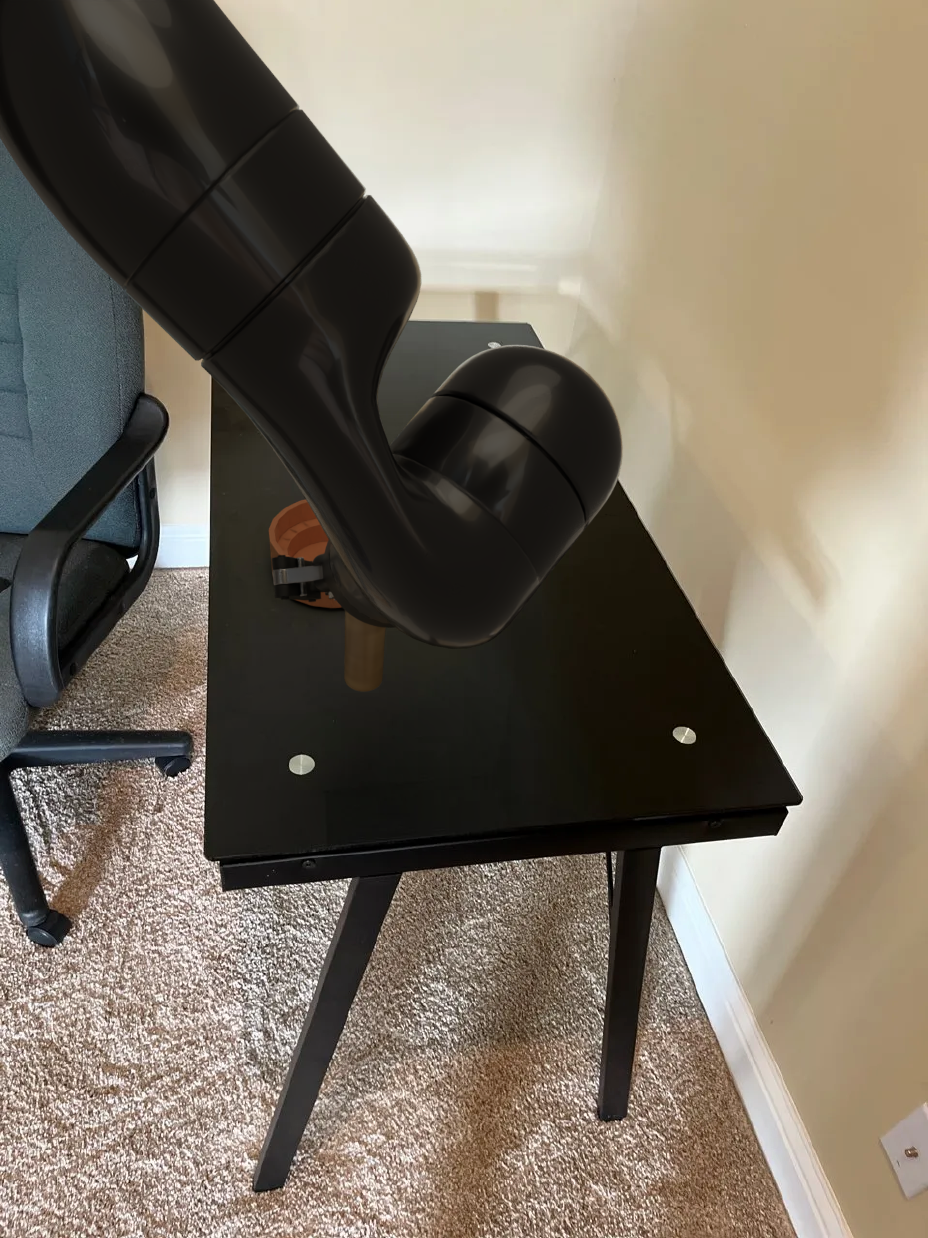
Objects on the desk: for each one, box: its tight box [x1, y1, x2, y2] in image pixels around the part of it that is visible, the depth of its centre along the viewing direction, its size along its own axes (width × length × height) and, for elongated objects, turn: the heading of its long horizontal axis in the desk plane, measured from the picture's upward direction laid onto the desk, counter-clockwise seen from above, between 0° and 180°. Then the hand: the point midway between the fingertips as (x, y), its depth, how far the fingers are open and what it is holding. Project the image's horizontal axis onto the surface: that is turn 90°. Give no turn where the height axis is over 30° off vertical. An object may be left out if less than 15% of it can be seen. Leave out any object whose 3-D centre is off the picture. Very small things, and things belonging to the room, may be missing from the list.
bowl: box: [268, 498, 342, 609], centre depth 88 cm, size 13×13×6 cm
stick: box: [343, 610, 387, 693], centre depth 61 cm, size 3×3×12 cm
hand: (361, 583), depth 61 cm, fingers closed on stick, 3 cm apart
